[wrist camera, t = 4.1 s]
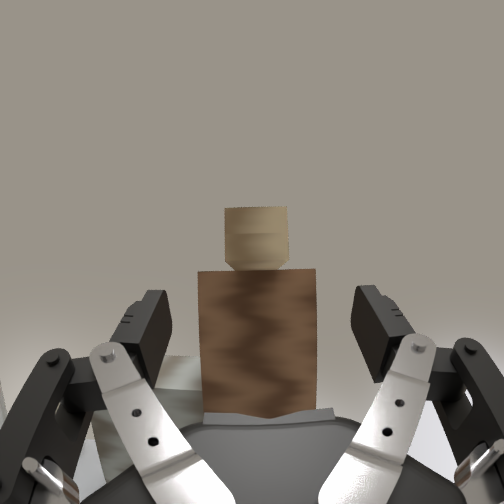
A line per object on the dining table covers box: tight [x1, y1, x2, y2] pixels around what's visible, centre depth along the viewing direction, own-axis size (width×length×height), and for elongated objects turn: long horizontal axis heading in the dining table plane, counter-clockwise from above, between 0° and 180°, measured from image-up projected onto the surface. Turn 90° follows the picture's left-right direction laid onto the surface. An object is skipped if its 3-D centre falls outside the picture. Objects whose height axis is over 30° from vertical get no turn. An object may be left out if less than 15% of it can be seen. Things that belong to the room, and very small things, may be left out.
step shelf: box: [91, 269, 317, 484], centre depth 31 cm, size 22×14×31 cm, turn 90°
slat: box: [225, 207, 289, 271], centre depth 29 cm, size 4×24×3 cm, turn 0°
